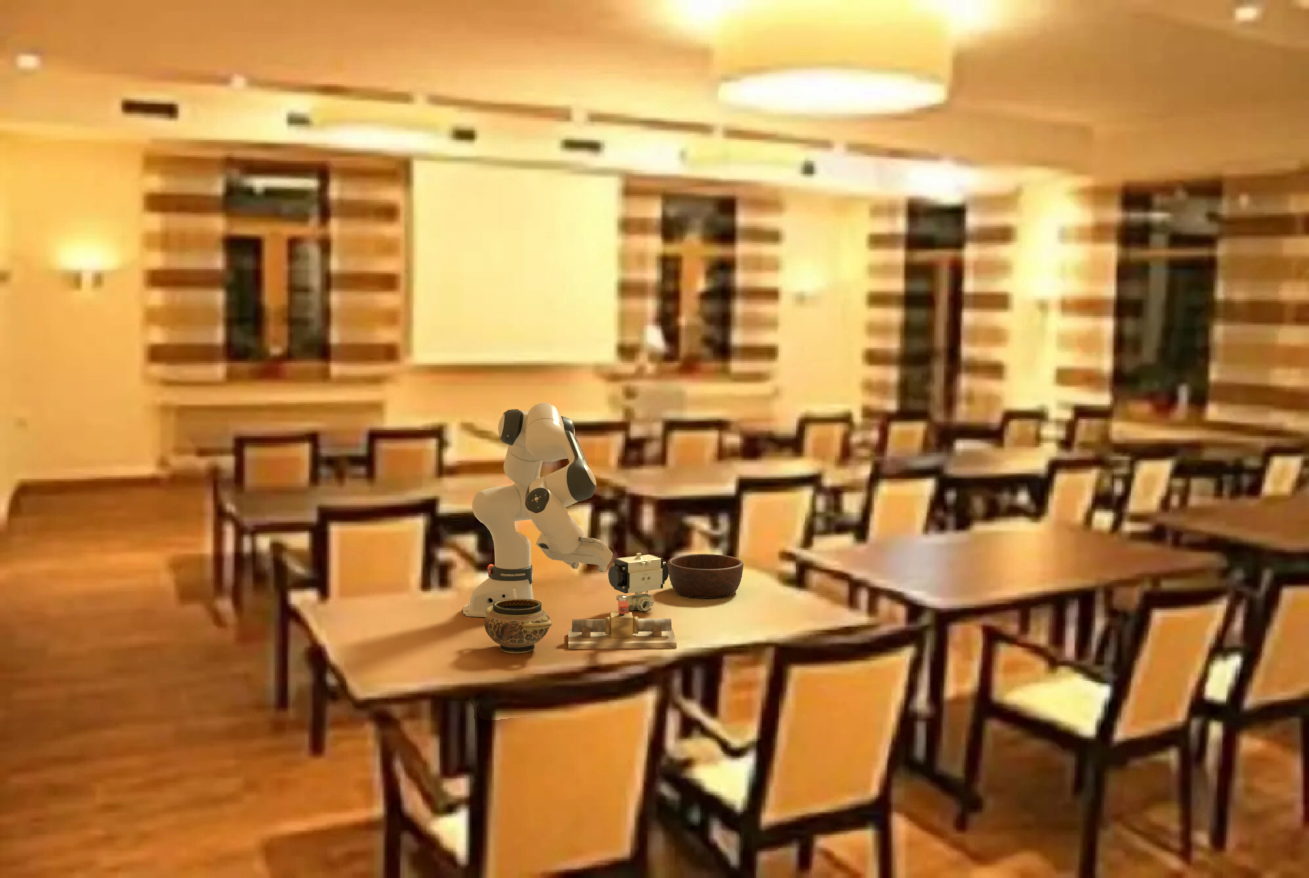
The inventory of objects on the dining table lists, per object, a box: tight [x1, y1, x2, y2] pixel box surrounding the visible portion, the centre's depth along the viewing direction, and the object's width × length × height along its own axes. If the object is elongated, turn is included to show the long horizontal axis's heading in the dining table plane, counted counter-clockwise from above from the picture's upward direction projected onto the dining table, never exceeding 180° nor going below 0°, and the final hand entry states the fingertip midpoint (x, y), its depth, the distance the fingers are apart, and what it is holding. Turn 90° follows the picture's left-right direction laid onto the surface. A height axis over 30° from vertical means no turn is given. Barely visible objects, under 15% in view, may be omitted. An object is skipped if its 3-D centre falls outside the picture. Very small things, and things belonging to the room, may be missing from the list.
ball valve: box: [607, 552, 669, 612], centre depth 391 cm, size 18×8×18 cm, turn 121°
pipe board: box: [567, 611, 678, 650], centre depth 356 cm, size 30×15×12 cm, turn 94°
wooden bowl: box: [667, 553, 744, 599], centre depth 416 cm, size 25×25×10 cm
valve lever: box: [615, 594, 630, 614], centre depth 349 cm, size 15×3×2 cm, turn 4°
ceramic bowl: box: [483, 599, 553, 654], centre depth 347 cm, size 24×18×15 cm
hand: (590, 568), depth 335 cm, fingers open, 8 cm apart
